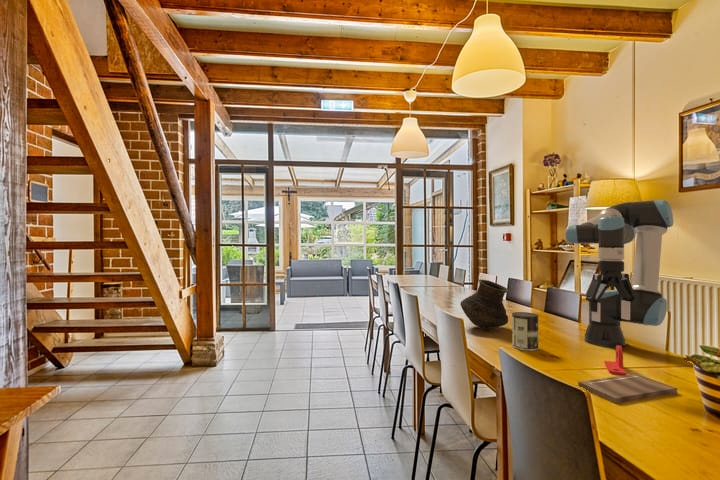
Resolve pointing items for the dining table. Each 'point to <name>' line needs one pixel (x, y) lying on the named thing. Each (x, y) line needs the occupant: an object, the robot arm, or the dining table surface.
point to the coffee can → (525, 331)
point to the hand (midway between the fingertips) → (611, 320)
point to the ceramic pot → (486, 305)
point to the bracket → (616, 363)
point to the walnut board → (627, 388)
